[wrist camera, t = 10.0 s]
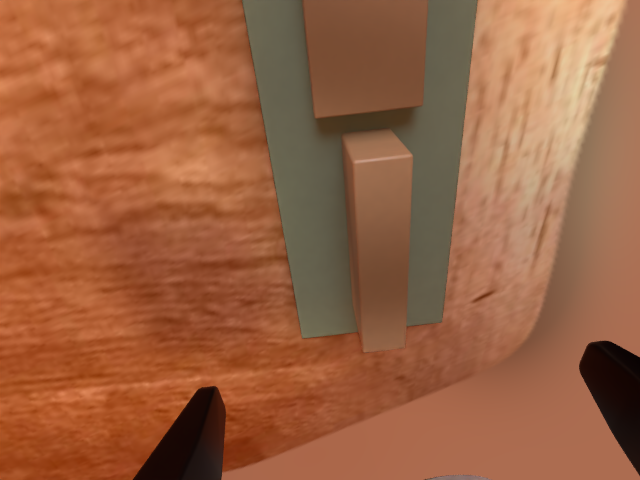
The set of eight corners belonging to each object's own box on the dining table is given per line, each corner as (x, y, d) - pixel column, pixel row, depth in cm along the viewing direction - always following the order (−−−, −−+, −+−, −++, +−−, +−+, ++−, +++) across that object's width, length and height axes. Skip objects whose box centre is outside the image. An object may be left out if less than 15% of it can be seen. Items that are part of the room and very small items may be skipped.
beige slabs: (295, -57, 8) (296, -82, 6) (422, -71, 8) (467, -102, 6) (333, 305, 13) (340, 357, 11) (407, 297, 13) (428, 346, 11)
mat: (439, 317, 15) (442, 322, 14) (302, 333, 15) (302, 338, 14) (483, -102, 8) (489, -107, 8) (230, -73, 8) (227, -76, 8)
